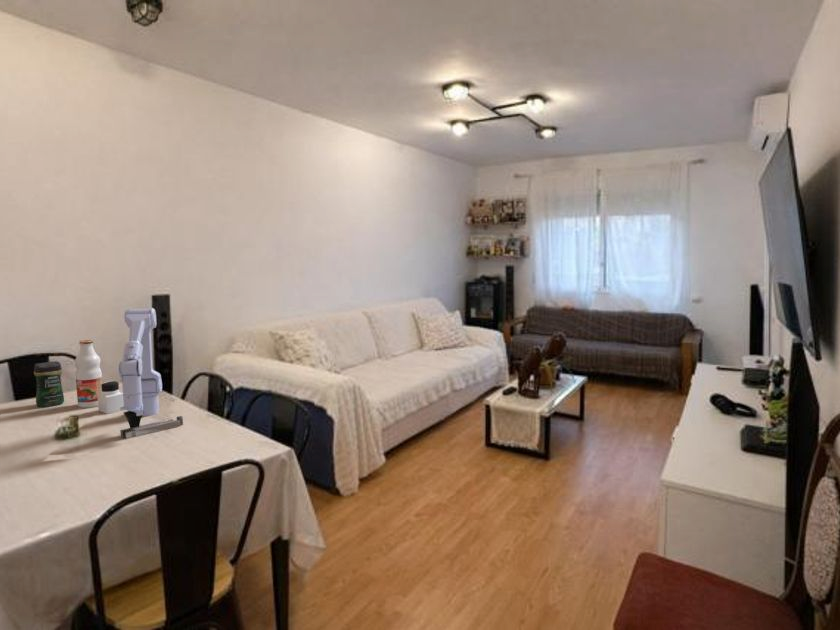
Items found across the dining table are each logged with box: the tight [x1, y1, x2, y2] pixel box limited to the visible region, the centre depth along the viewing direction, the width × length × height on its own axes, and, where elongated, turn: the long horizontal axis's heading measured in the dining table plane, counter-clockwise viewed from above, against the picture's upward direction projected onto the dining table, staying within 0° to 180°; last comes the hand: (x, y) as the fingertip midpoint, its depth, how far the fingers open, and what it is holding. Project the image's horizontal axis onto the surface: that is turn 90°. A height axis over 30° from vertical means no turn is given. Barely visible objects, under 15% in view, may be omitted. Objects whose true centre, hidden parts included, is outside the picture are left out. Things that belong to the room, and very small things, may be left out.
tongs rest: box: [123, 415, 184, 440], centre depth 180 cm, size 18×22×4 cm
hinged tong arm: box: [119, 418, 174, 439], centre depth 178 cm, size 17×2×2 cm, turn 136°
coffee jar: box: [33, 360, 65, 408], centre depth 213 cm, size 10×8×19 cm
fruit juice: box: [74, 339, 104, 409], centre depth 212 cm, size 9×9×28 cm
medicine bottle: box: [97, 380, 124, 415], centre depth 206 cm, size 7×7×12 cm
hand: (134, 430), depth 176 cm, fingers closed
